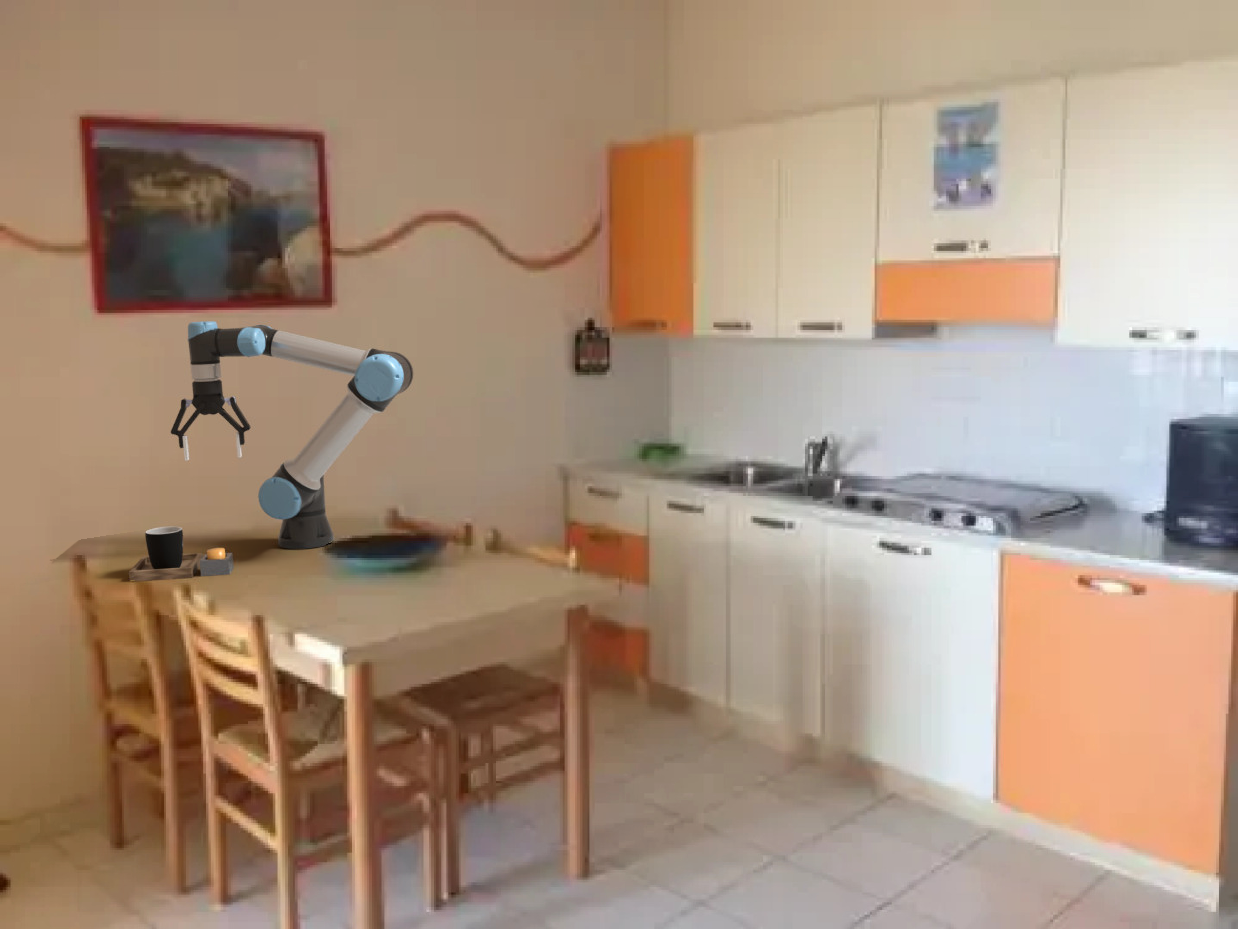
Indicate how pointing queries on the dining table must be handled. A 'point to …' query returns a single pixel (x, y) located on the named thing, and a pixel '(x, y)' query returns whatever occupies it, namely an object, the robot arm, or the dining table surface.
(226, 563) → the button housing
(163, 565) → the mug
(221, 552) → the button
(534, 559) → the dining table surface
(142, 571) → the wooden tray
